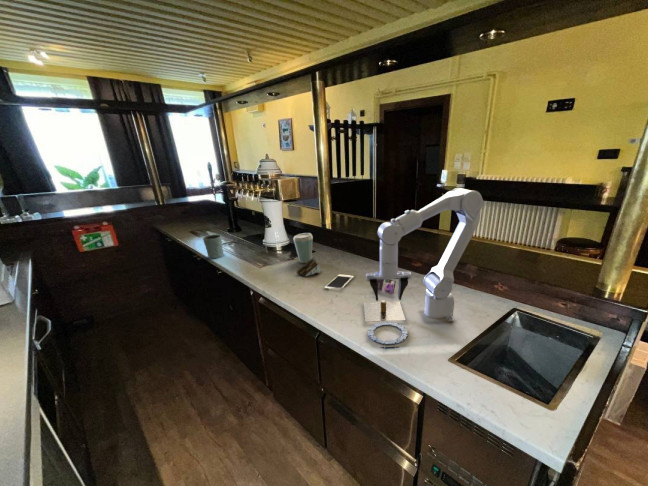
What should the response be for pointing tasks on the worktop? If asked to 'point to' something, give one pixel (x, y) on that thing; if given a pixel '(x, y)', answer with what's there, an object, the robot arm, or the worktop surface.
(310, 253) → the disposable coffee cup
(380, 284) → the purple printed box
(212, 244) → the grey green cup
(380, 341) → the ring
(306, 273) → the chocolate cake
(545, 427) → the worktop surface
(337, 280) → the cell phone
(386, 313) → the platform
